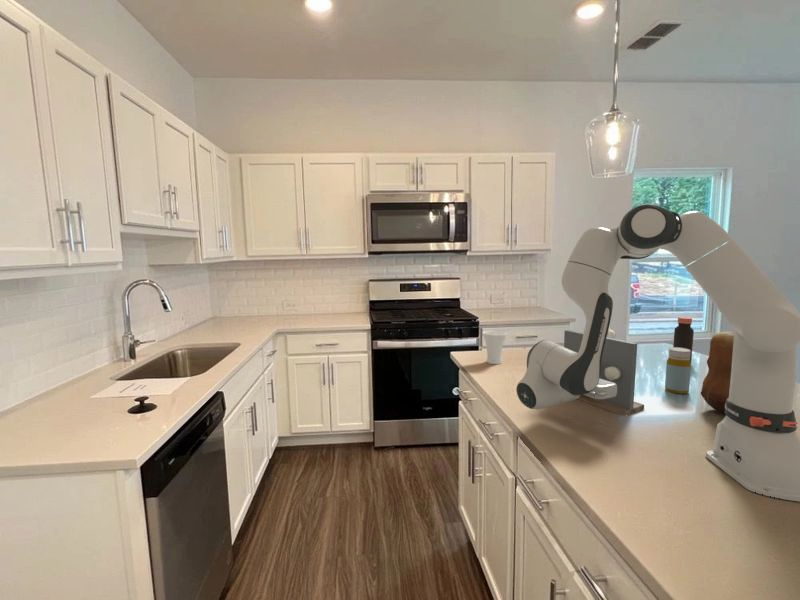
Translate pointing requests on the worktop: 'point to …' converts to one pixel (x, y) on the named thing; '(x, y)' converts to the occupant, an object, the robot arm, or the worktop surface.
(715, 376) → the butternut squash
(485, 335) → the cup
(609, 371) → the cream button
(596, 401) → the button panel
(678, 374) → the bottle
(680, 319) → the vinegar
